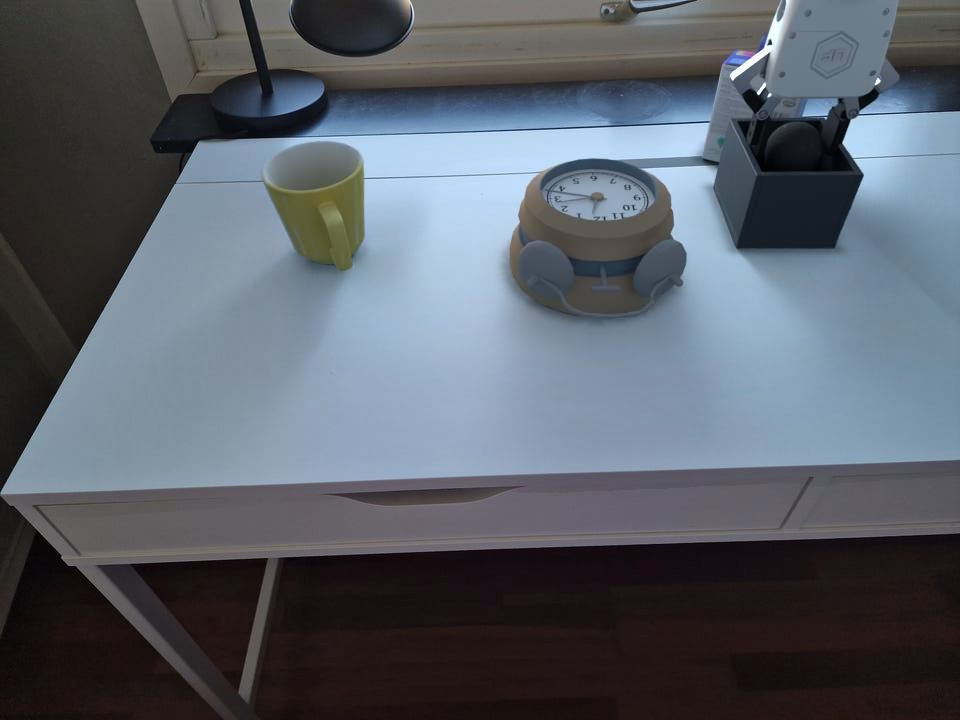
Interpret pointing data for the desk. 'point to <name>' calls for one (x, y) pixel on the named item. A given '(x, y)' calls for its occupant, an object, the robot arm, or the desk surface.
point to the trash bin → (783, 193)
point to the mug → (319, 199)
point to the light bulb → (793, 148)
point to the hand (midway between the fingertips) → (791, 148)
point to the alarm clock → (596, 240)
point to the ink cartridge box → (739, 104)
